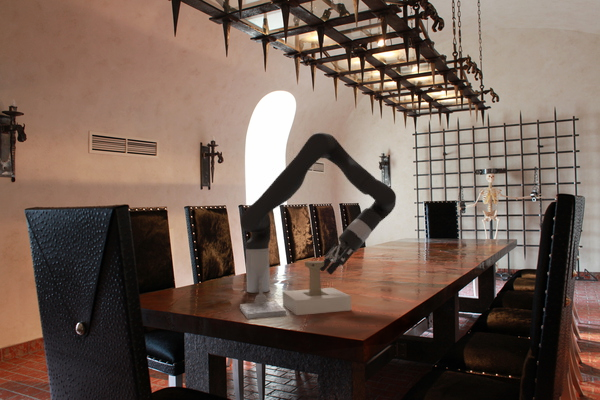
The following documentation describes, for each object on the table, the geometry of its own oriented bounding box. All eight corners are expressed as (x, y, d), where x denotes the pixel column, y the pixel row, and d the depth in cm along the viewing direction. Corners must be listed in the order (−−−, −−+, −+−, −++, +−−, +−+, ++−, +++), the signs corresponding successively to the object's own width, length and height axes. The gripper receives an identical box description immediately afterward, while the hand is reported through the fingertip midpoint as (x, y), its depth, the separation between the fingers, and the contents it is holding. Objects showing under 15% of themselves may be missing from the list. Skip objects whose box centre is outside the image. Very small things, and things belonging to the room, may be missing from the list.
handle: (324, 308, 156) (322, 262, 156) (304, 308, 157) (303, 262, 157) (326, 305, 160) (325, 260, 161) (307, 305, 162) (306, 261, 162)
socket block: (283, 304, 165) (282, 291, 165) (332, 300, 170) (332, 287, 170) (296, 315, 148) (295, 300, 148) (351, 310, 152) (350, 296, 152)
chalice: (273, 299, 174) (272, 250, 175) (267, 303, 168) (266, 251, 168) (254, 299, 176) (253, 250, 177) (248, 303, 170) (246, 252, 170)
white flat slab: (240, 308, 160) (239, 304, 160) (275, 305, 163) (275, 301, 163) (247, 318, 145) (247, 313, 145) (286, 315, 148) (286, 310, 148)
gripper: (340, 227, 169) (310, 261, 166) (355, 228, 156) (322, 266, 152) (354, 241, 171) (325, 276, 167) (371, 244, 157) (339, 281, 154)
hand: (324, 271), depth 160 cm, fingers open, 8 cm apart
